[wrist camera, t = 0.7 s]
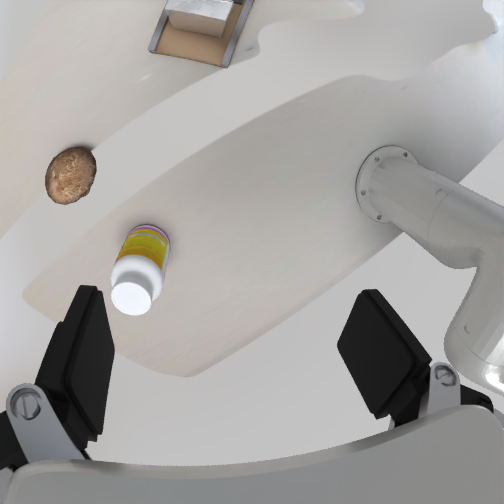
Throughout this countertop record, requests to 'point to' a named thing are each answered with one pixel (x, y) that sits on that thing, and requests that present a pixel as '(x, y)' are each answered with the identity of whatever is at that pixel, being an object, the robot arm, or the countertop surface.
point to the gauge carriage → (201, 15)
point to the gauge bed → (200, 39)
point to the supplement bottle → (140, 270)
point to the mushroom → (70, 175)
